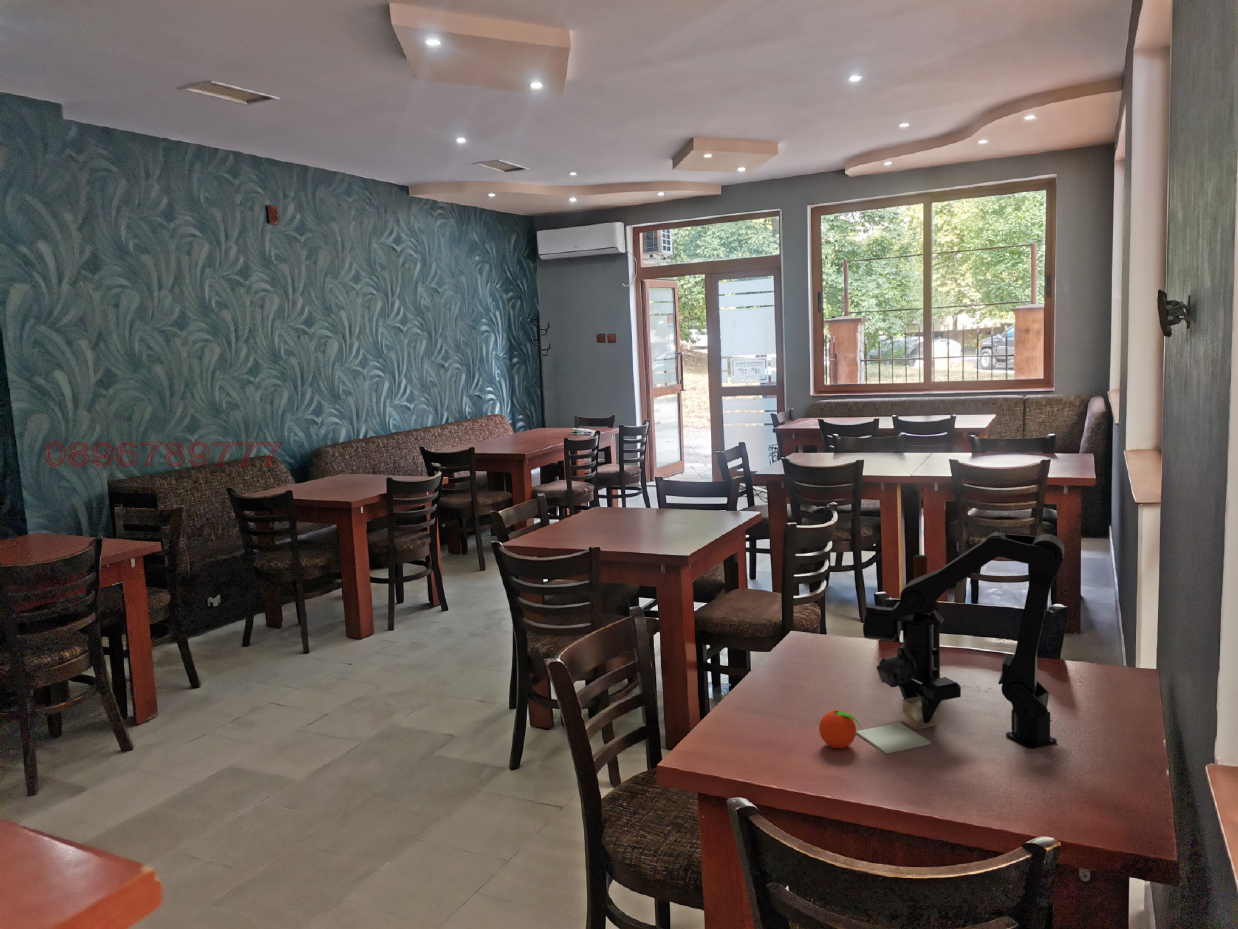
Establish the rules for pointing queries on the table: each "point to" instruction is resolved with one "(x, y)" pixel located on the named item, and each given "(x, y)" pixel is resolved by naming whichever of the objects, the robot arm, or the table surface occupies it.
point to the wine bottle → (919, 571)
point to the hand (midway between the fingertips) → (918, 718)
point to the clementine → (837, 729)
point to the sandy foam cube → (915, 713)
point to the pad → (893, 738)
